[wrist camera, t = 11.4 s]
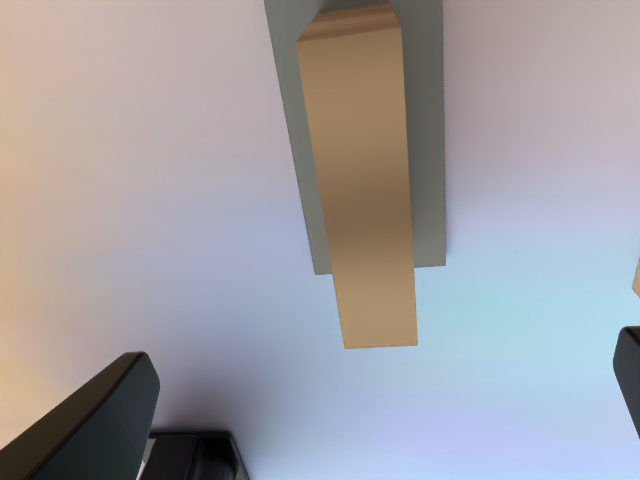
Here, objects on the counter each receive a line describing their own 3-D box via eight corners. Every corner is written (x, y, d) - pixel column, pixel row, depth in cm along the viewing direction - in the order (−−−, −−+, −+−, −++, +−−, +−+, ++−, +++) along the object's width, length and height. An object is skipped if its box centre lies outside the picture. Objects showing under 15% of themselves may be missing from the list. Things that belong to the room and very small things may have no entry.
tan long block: (405, 249, 21) (417, 345, 16) (349, 254, 21) (344, 349, 16) (389, 2, 16) (401, 27, 11) (317, 13, 16) (295, 42, 11)
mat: (443, 258, 22) (445, 265, 21) (316, 267, 23) (315, 275, 22) (439, -40, 16) (441, -40, 15) (264, -11, 17) (262, -10, 16)
